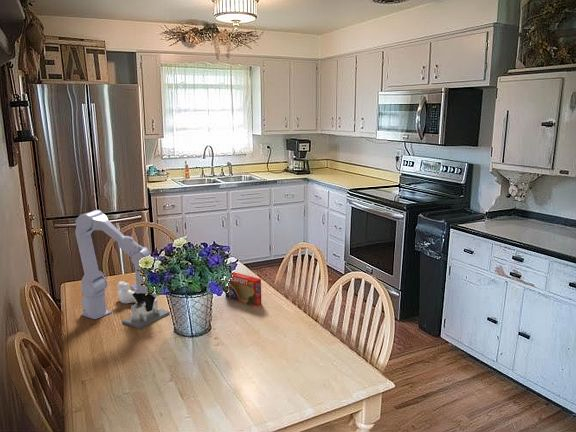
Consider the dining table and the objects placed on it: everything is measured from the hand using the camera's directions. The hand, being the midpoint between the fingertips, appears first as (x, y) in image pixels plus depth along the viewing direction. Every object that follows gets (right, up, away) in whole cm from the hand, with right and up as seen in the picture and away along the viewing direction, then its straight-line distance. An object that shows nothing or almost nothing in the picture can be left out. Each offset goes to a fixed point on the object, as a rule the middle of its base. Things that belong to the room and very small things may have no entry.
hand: (145, 309), depth 183 cm
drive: (0, -3, 0) cm, 3 cm away
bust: (-14, -1, +18) cm, 23 cm away
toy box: (+38, 0, +18) cm, 42 cm away
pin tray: (0, -4, +1) cm, 4 cm away
